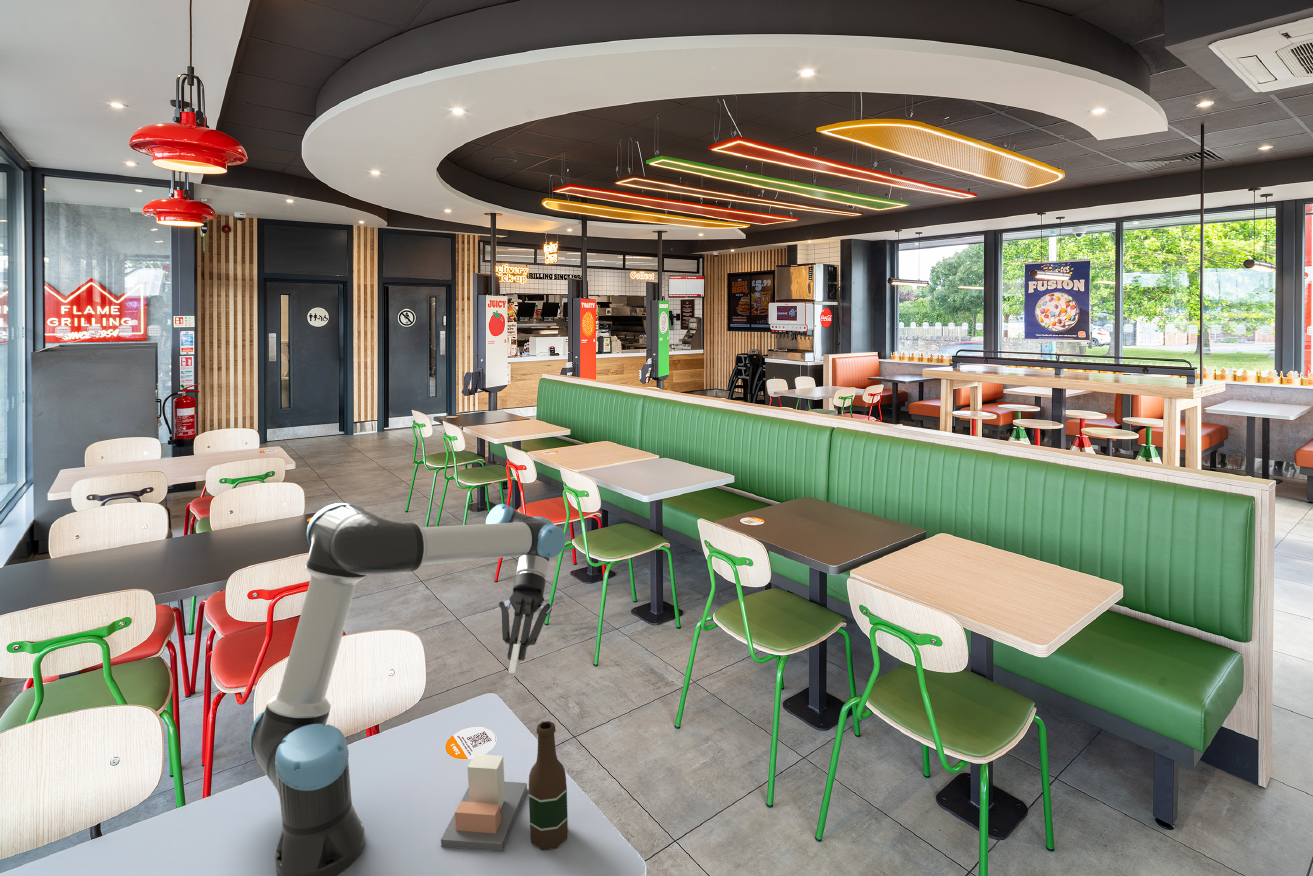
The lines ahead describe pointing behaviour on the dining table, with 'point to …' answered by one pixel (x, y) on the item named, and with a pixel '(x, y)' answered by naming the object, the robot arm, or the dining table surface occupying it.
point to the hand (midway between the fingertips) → (512, 674)
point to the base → (488, 840)
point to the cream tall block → (486, 779)
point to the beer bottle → (547, 793)
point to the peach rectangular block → (477, 817)
